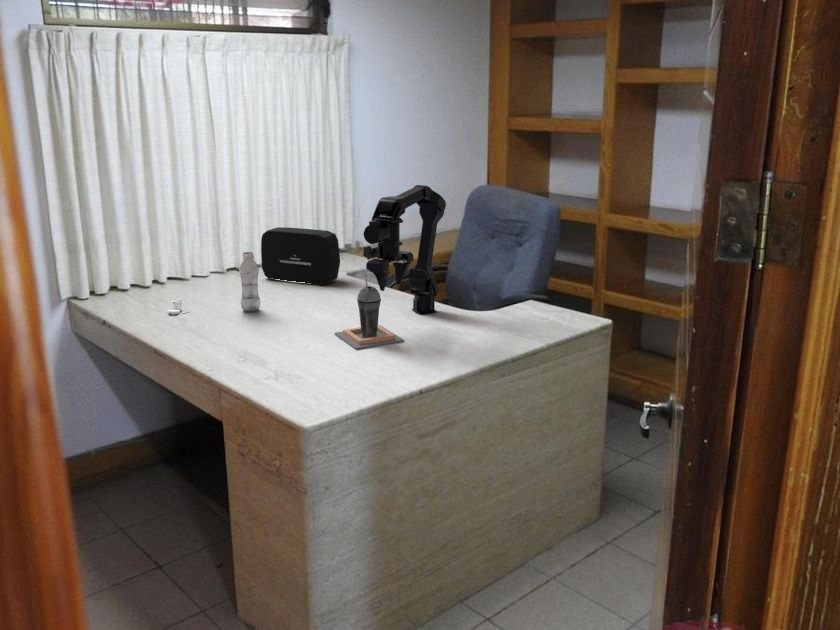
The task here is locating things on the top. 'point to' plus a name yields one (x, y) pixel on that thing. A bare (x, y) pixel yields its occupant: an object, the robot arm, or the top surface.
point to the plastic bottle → (249, 283)
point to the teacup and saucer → (176, 307)
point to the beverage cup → (369, 310)
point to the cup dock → (358, 342)
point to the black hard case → (300, 255)
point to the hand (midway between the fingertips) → (390, 287)
